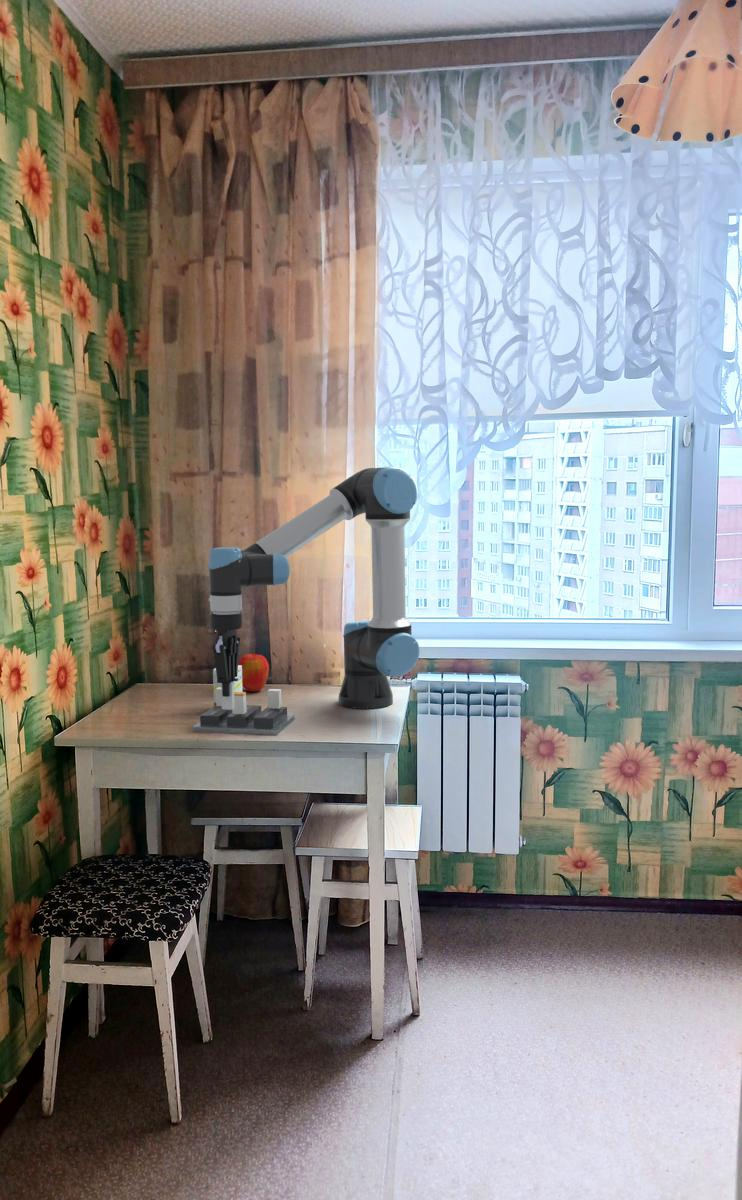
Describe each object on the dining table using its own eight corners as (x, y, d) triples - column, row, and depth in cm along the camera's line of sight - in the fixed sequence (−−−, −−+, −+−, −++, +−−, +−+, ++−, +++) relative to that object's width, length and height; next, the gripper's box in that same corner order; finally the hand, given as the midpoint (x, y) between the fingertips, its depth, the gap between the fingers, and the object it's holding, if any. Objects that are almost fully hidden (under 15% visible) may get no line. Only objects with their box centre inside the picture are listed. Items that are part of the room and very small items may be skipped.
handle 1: (229, 704, 237) (229, 687, 237) (227, 706, 236) (226, 689, 235) (219, 704, 238) (218, 687, 238) (216, 706, 236) (215, 688, 236)
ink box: (229, 714, 244) (228, 670, 243) (213, 712, 246) (211, 669, 244) (244, 706, 252) (242, 664, 251) (228, 705, 254) (226, 663, 253)
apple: (233, 694, 268) (232, 653, 266) (243, 687, 276) (242, 648, 275) (264, 695, 266) (263, 654, 264) (273, 688, 275) (272, 649, 273)
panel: (294, 719, 238) (294, 705, 237) (277, 734, 223) (276, 719, 223) (214, 716, 242) (214, 702, 242) (192, 731, 227) (192, 716, 227)
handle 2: (281, 706, 235) (281, 689, 234) (279, 708, 233) (278, 691, 232) (270, 706, 235) (269, 688, 235) (268, 707, 233) (267, 690, 233)
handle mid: (246, 712, 229) (246, 692, 229) (243, 714, 227) (243, 694, 227) (235, 711, 230) (234, 691, 229) (232, 713, 228) (231, 693, 227)
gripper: (221, 608, 226) (223, 702, 228) (200, 615, 213) (203, 714, 216) (250, 609, 224) (251, 703, 227) (231, 616, 211) (233, 715, 214)
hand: (228, 708), depth 221 cm, fingers closed
